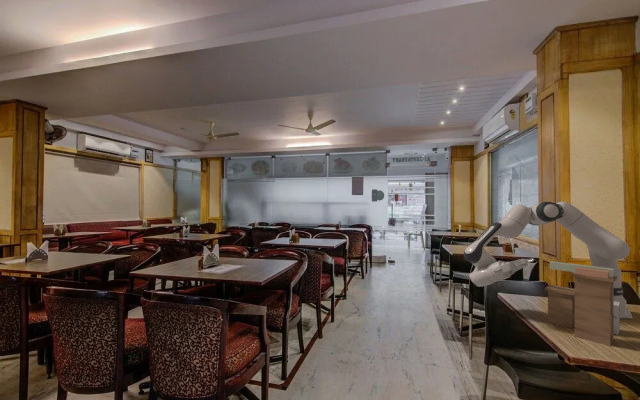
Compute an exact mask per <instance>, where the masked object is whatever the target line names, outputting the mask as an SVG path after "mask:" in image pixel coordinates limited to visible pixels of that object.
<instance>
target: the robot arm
mask: <svg viewBox="0 0 640 400" xmlns="http://www.w3.org/2000/svg"><path fill="white" fill-rule="evenodd" d="M552 222H557V223H558V224H559V225H561V226H562V227H563V228H564V229H566V230H567V231H568V232H570V234H571V235H573V236H574V237H575V238H576V239H578V240H580V241H581V242H582V243H584V244H585V246H586V248H587V250H588V256H589V260H590V266H594V267H602V268H611V269H615V276H617V280H616V281H614V301H615V302H620V319H628V320H629V319H630V320H633V319H634V318H633V314H632V313H631V310H630V309H629V307H628V306H627V299H626V298H625V297H624V296H623V295H624V287H623V286H622V270H621V268H620V266H619V263H618V260H623V259H625V258H627V257H628V256H629V255H630V251H631V247H630V246H629V244H628V243H627V242H625V241H624V240H622V239H620V237H618V236H616V235H615V234H613V233H612V232H610V231H609V230H608V229H606V228H604V227H603V226H601V225H600V224H598V223H596V222H595V220H592V218H591V217H589V216H588V215H586V214H585V213H584V212H583V211H582V210H580V209H579V208H577V207H576V206H575V205H572V203H569V202H567V201H559V202H556V203H555V202H553V201H542V202H539V203H536V204H534V205H532V206H530V207H528V206H527V205H523V204H516V205H513V207H512V208H510V210H509V211H507V213H506V214H505V215H504V217H503V218H502V219H501V220H500V221H498V222H493V223H492V224H490V225H489V226H488V227H486V229H485V230H483V232H481V234H480V235H479V236H478V237H476V238H475V240H473V241H472V242H471V243H470V244H468V245H466V247H465V248H464V251H463V257H464V259H465V260H466V261H467V262H469V263H470V264H472V265H473V266H474V267H475V268H474V270H473V271H472V272H471V273H469V280H470V281H471V282H472V283H473V284H474V285H475V286H476V287H481V288H482V287H486V286H487V287H488V286H489V285H492V284H494V283H496V282H501V281H503V280H506V279H509V278H511V277H512V275H515V273H516V272H518V271H519V270H522V269H524V268H525V267H527V266H529V264H530V263H532V262H534V261H535V259H534V257H529V258H521V259H517V260H512V261H504V260H503V261H502V260H497V259H496V258H495V257H494V256H492V255H491V253H489V252H488V251H487V250H485V247H486V246H487V245H488V244H489V243H490V242H491V241H492V240H493V239H494V238H495V237H501V238H505V239H515V238H518V237H519V236H520V235H521V234H522V233H523V232H524V230H525V229H526V227H527V225H528V224H529V225H532V226H543V225H547V224H549V223H552Z"/></svg>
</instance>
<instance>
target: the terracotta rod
mask: <svg viewBox="0 0 640 400" xmlns="http://www.w3.org/2000/svg"><path fill="white" fill-rule="evenodd" d="M576 274H580V275H587V276H594V277H601V278H609V271H604V270H596V269H588V268H580V267H576Z"/></svg>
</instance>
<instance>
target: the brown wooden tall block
mask: <svg viewBox="0 0 640 400" xmlns="http://www.w3.org/2000/svg"><path fill="white" fill-rule="evenodd" d="M570 277H574V289H575V326H574V337H575V338H577V339H583V340H587V341H590V342H594V343H598V344H603V345H604V346H605V345H606V346H609V347H610V346H611V345H612V344H613V343H614V340H615V339H614V335H615V334H614V281H616V280H617V276H615V277H609V278H601V277H594V276H587V275H580V274H576V272H570Z"/></svg>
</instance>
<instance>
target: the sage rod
mask: <svg viewBox="0 0 640 400" xmlns="http://www.w3.org/2000/svg"><path fill="white" fill-rule="evenodd" d="M576 267H580V268H588V269H596V270H604V271H609V277H615V269H611V268H602V267H594V266H592V265H584V264H578V263H577V264H576V263H567V262H560V261H549V270H554V271H555V270H556V271H561V272H563V271H565V272H570V273H573V272H576Z"/></svg>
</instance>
